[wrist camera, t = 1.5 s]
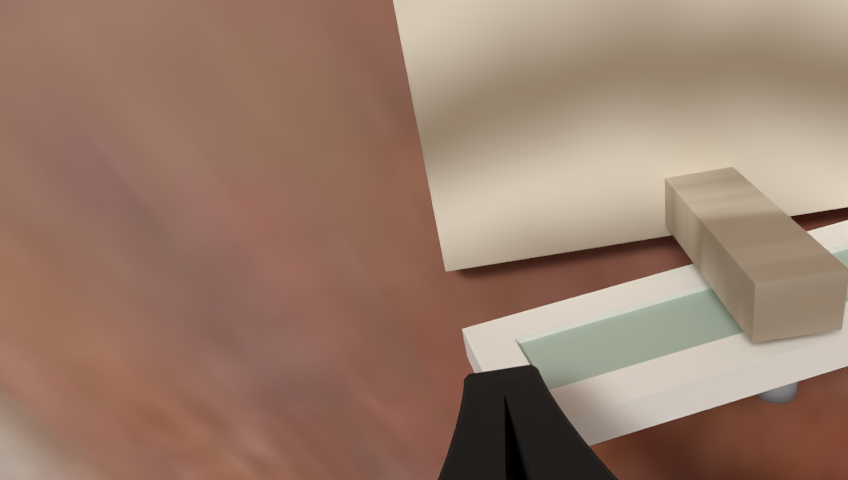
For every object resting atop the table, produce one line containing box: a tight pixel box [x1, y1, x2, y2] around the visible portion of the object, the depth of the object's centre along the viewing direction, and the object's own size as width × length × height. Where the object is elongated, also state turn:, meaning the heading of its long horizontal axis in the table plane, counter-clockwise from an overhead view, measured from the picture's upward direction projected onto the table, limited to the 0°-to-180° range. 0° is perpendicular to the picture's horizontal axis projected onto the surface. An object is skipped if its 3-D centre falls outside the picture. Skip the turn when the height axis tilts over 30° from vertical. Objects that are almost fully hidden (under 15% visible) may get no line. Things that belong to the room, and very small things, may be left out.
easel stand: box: [393, 0, 848, 343], centre depth 17 cm, size 9×16×7 cm, turn 100°
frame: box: [462, 220, 848, 446], centre depth 18 cm, size 2×14×4 cm, turn 100°
